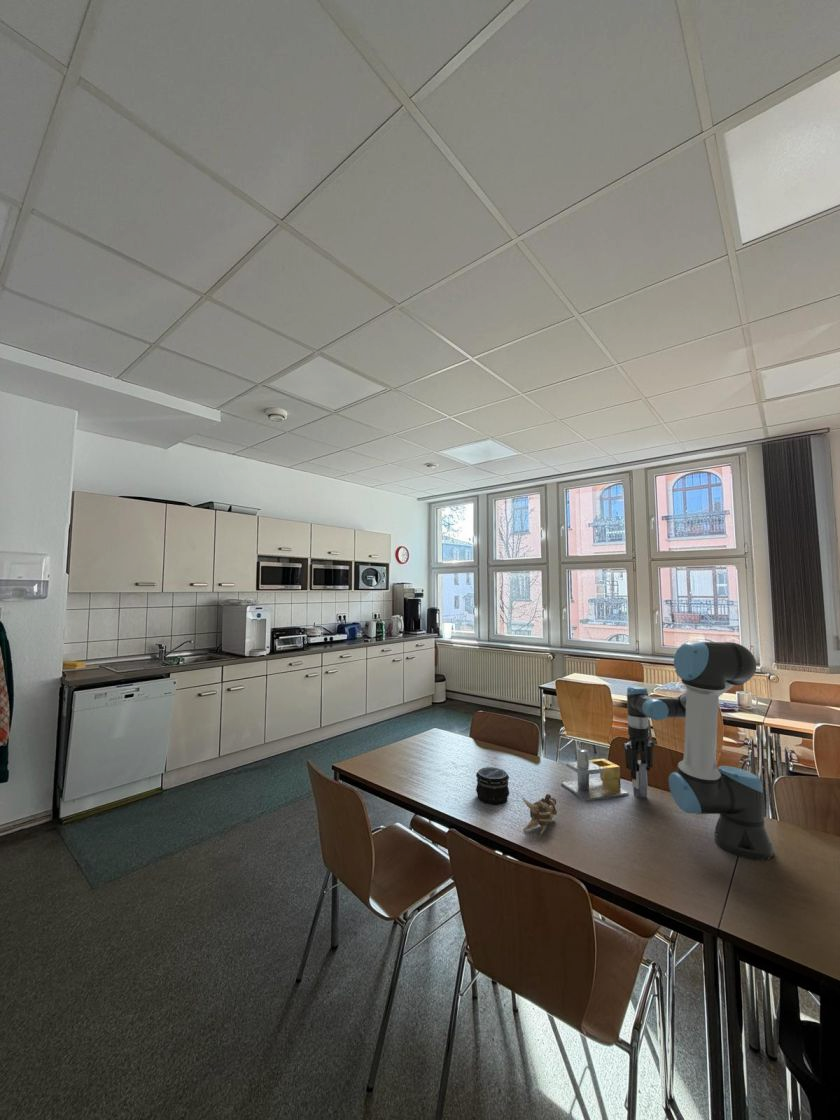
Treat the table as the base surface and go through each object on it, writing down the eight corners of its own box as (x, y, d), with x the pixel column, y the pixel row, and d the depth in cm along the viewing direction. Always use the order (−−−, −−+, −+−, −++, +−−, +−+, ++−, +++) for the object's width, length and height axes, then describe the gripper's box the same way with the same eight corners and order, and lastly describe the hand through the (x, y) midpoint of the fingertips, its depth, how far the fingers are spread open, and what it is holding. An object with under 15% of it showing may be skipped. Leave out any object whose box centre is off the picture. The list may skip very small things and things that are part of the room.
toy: (567, 826, 154) (543, 839, 144) (546, 820, 160) (521, 831, 150) (565, 792, 156) (541, 802, 146) (544, 787, 162) (520, 796, 152)
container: (506, 808, 165) (506, 780, 166) (472, 803, 170) (472, 776, 170) (511, 794, 177) (511, 768, 178) (479, 790, 182) (479, 764, 182)
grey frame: (628, 795, 178) (627, 753, 180) (586, 801, 172) (585, 758, 174) (600, 779, 193) (600, 741, 195) (561, 784, 188) (560, 745, 189)
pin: (647, 797, 176) (646, 763, 177) (640, 798, 175) (639, 764, 176) (640, 793, 180) (639, 760, 181) (632, 794, 179) (631, 761, 180)
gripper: (647, 722, 186) (649, 780, 184) (614, 725, 181) (616, 785, 179) (662, 727, 179) (664, 788, 177) (628, 730, 174) (630, 793, 172)
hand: (640, 786), depth 178 cm, fingers closed on pin, 3 cm apart
